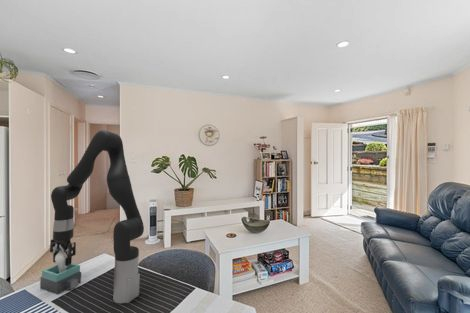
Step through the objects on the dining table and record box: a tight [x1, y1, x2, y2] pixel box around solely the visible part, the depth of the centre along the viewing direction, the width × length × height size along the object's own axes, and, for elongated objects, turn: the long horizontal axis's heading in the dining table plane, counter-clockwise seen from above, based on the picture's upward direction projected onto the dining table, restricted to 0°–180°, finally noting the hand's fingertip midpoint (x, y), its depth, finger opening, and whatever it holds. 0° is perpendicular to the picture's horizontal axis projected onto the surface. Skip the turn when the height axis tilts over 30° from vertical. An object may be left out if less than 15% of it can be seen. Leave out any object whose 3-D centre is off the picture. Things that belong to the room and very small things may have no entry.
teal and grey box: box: [39, 262, 82, 295], centre depth 99 cm, size 15×10×8 cm, turn 70°
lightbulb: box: [54, 249, 68, 273], centre depth 100 cm, size 6×6×11 cm
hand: (62, 263), depth 100 cm, fingers open, 8 cm apart
